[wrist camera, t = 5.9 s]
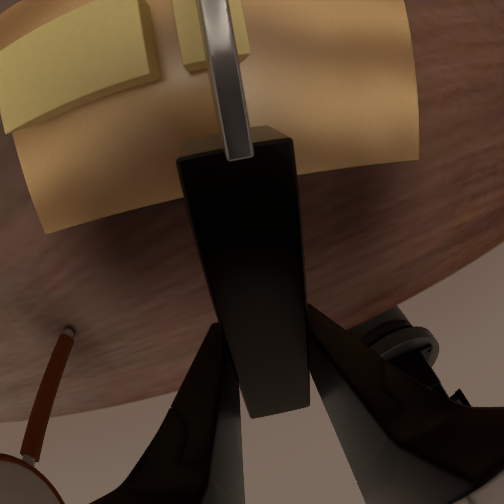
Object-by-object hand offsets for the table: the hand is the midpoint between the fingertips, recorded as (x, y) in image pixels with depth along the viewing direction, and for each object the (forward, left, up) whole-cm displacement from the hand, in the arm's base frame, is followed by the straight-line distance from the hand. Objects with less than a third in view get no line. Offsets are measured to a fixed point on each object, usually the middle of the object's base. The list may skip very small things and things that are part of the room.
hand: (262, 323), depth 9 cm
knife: (+6, 0, -1) cm, 6 cm away
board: (+9, 0, -9) cm, 13 cm away
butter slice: (+10, 0, -8) cm, 13 cm away
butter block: (+10, +6, -8) cm, 14 cm away
